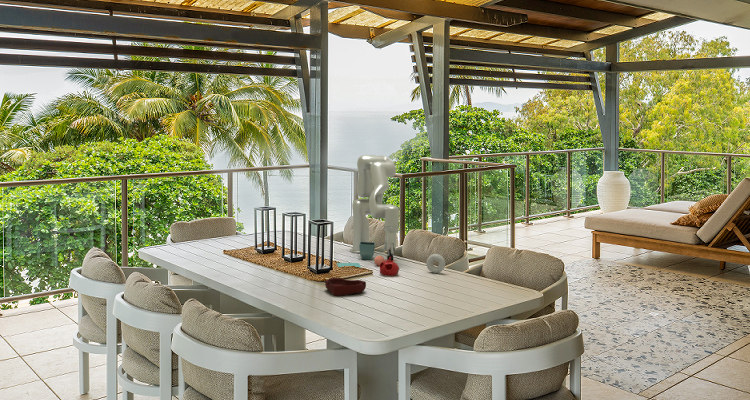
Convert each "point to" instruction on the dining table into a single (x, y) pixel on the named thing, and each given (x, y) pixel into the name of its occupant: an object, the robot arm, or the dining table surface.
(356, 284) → the dark red shallow dish
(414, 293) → the dining table surface
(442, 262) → the donut
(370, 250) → the flower pot
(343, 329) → the dining table surface
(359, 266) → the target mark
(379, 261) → the ball
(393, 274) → the pomegranate
